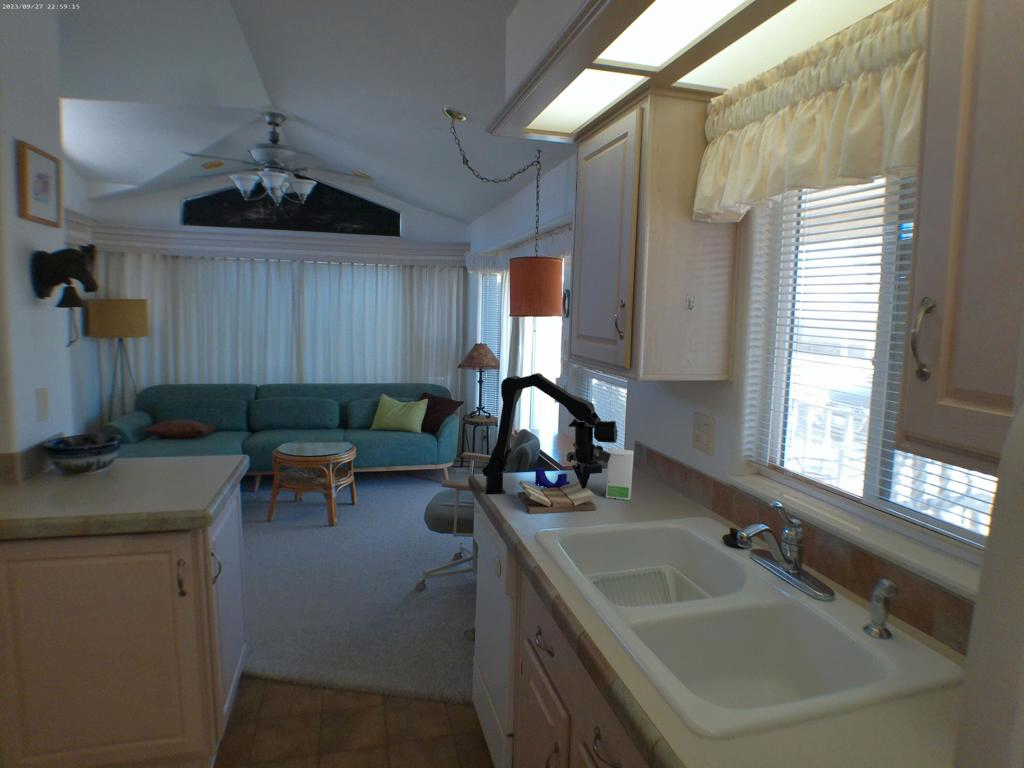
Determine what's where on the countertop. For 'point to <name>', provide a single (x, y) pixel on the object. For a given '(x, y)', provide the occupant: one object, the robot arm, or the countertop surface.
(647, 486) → the countertop surface
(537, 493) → the plank near
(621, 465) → the skincare box
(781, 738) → the countertop surface
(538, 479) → the cable clip
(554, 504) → the mating strip
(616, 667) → the countertop surface
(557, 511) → the board
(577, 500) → the plank far
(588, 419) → the robot arm
